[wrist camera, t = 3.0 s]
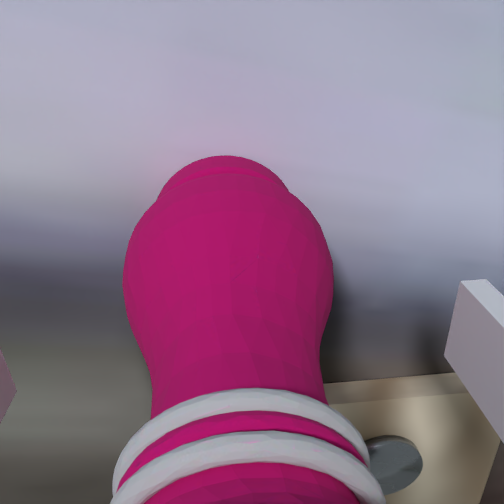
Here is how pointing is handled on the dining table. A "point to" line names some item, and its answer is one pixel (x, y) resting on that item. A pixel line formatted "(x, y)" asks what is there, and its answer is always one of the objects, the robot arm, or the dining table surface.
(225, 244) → the pepper mill
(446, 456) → the tan flat board
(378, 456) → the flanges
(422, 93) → the dining table surface
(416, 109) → the dining table surface
